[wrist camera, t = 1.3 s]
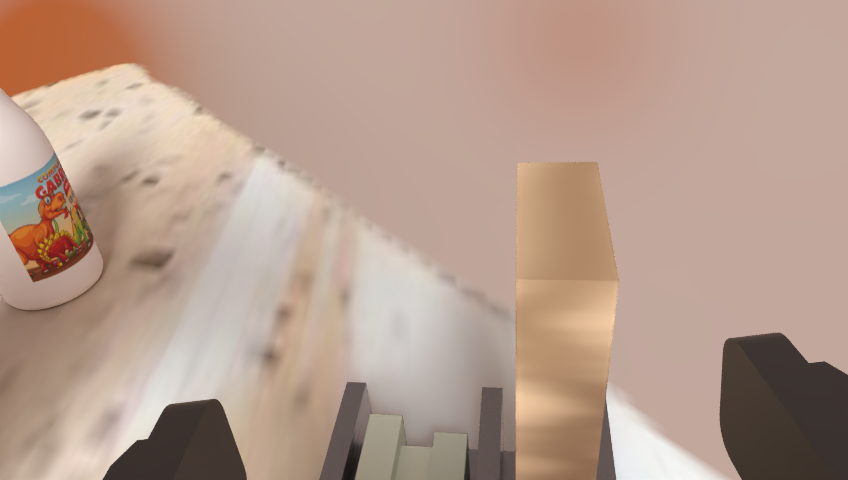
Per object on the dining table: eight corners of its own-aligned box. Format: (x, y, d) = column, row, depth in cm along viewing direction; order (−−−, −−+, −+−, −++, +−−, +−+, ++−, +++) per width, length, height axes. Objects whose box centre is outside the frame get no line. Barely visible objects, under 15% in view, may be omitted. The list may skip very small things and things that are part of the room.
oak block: (515, 649, 28) (515, 279, 17) (516, 519, 33) (517, 162, 22) (575, 655, 28) (619, 280, 16) (568, 523, 33) (597, 162, 21)
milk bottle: (6, 327, 50) (-145, 70, 39) (2, 275, 56) (-131, 38, 44) (113, 289, 53) (2, 40, 41) (99, 243, 59) (-3, 13, 47)
